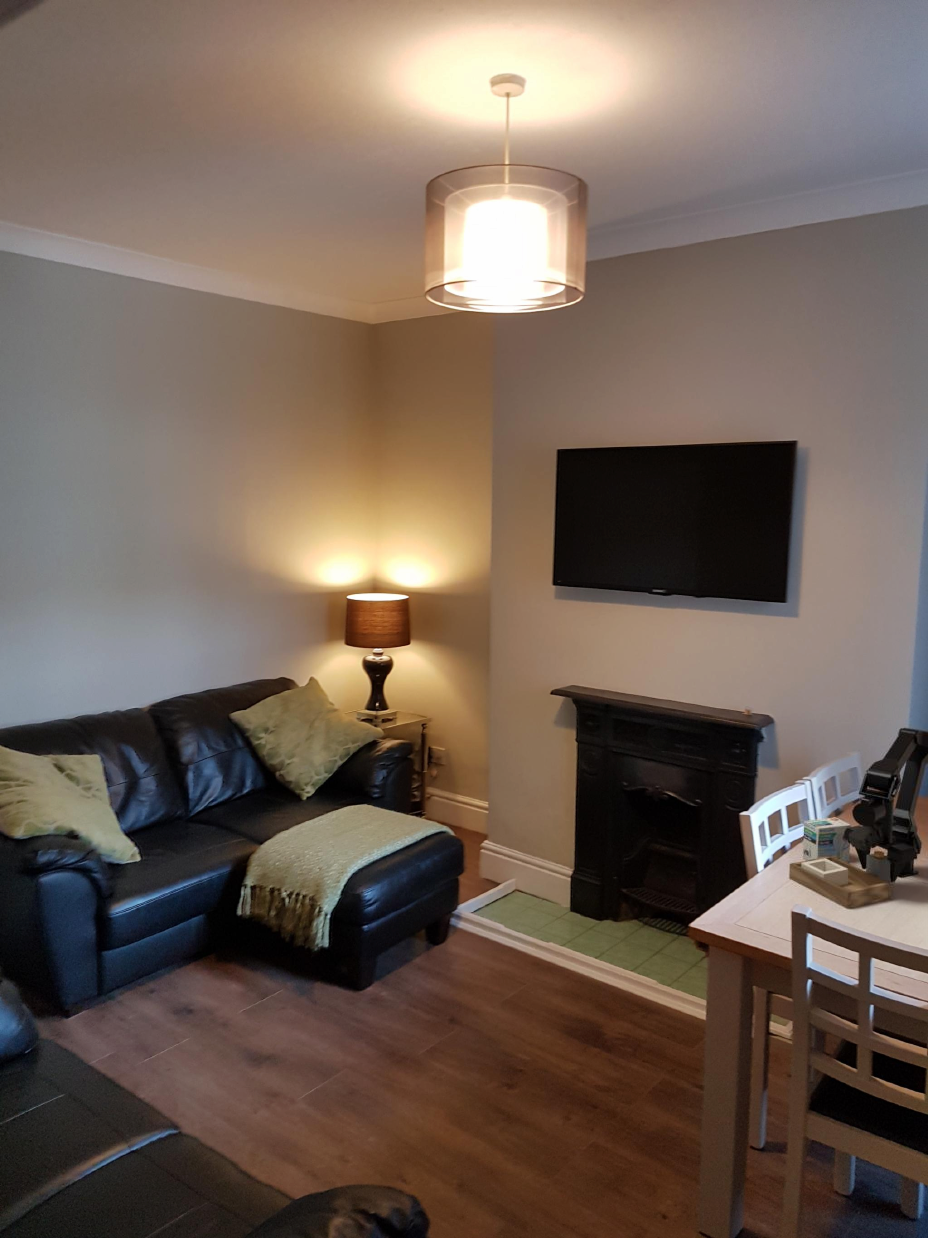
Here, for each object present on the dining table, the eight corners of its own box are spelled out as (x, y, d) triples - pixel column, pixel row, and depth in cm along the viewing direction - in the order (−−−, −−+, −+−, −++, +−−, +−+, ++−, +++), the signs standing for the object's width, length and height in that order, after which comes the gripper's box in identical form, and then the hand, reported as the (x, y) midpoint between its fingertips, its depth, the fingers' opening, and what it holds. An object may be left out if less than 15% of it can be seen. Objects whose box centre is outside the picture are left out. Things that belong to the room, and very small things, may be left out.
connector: (877, 882, 236) (878, 849, 235) (889, 888, 233) (891, 854, 232) (865, 885, 235) (867, 851, 234) (877, 890, 231) (879, 856, 230)
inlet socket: (824, 873, 241) (825, 858, 241) (847, 884, 234) (848, 869, 234) (800, 877, 238) (801, 863, 238) (823, 889, 231) (823, 874, 231)
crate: (830, 870, 245) (831, 855, 244) (890, 899, 226) (891, 883, 226) (789, 878, 240) (789, 863, 239) (847, 908, 221) (847, 892, 221)
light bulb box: (817, 867, 247) (818, 828, 246) (801, 858, 254) (802, 820, 252) (850, 862, 250) (852, 824, 249) (834, 853, 256) (835, 816, 255)
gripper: (828, 809, 237) (826, 867, 239) (886, 832, 220) (883, 894, 222) (861, 804, 242) (859, 860, 243) (920, 826, 224) (917, 887, 226)
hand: (878, 875), depth 234 cm, fingers open, 9 cm apart
